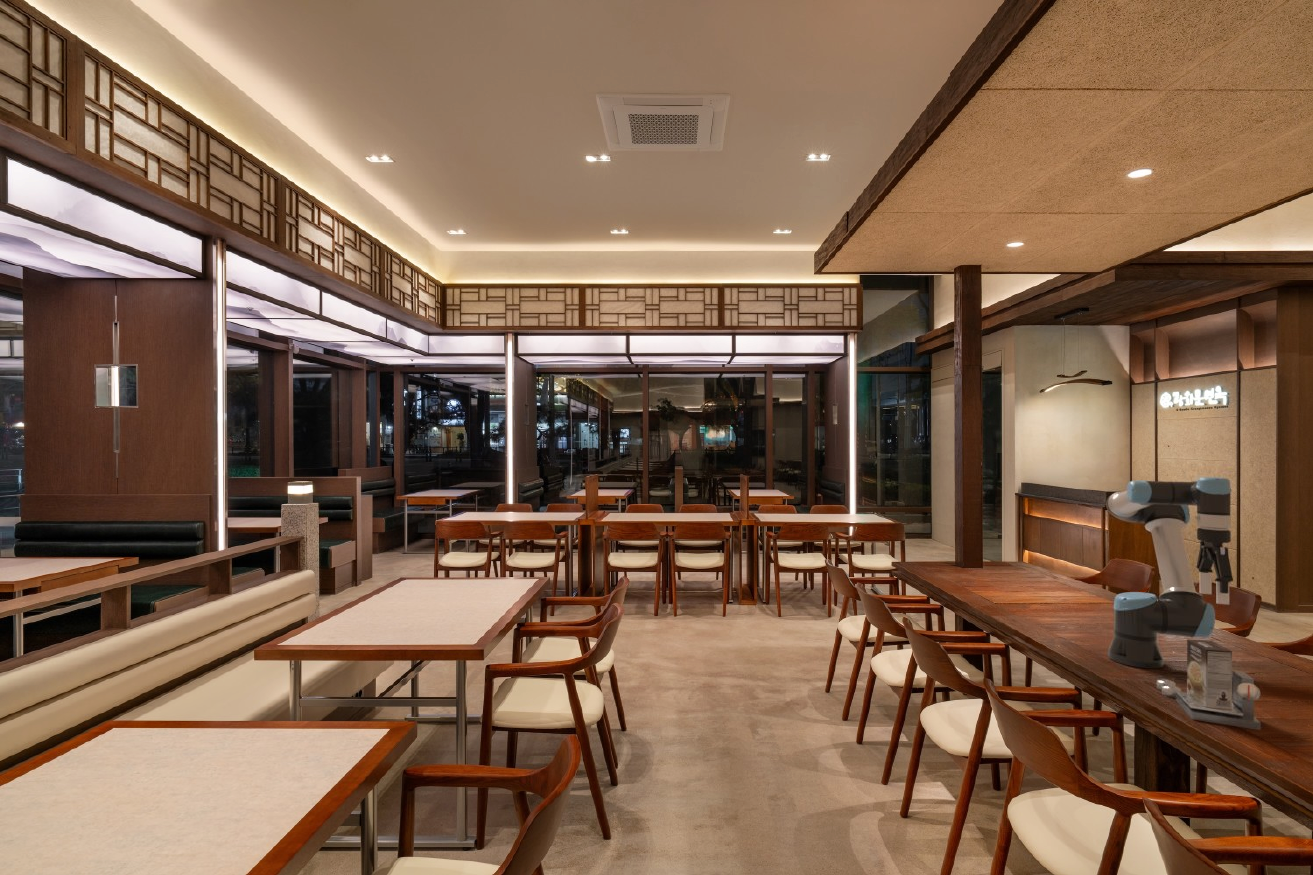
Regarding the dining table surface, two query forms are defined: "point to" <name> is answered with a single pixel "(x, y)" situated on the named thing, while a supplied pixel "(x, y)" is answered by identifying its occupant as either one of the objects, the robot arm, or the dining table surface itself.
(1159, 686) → the cylinder
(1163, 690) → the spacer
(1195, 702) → the scale
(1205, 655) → the coffee box
